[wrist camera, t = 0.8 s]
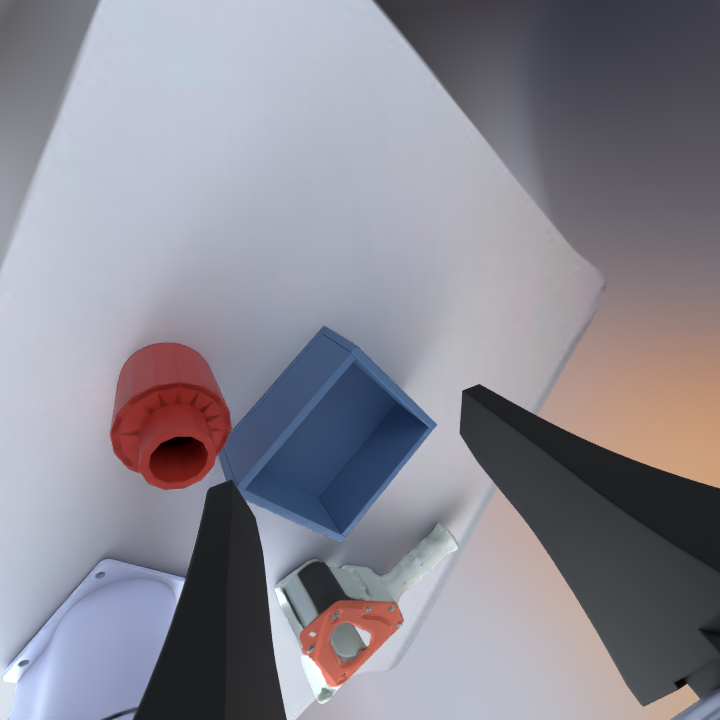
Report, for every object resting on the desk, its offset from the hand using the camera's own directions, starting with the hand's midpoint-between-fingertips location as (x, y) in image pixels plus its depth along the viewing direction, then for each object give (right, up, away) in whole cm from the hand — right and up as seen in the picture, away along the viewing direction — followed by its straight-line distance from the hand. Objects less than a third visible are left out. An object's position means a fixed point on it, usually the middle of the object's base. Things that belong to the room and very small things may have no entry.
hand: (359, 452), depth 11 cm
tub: (-3, -2, +18) cm, 19 cm away
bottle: (-12, +1, +12) cm, 17 cm away
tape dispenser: (0, -21, +28) cm, 35 cm away
